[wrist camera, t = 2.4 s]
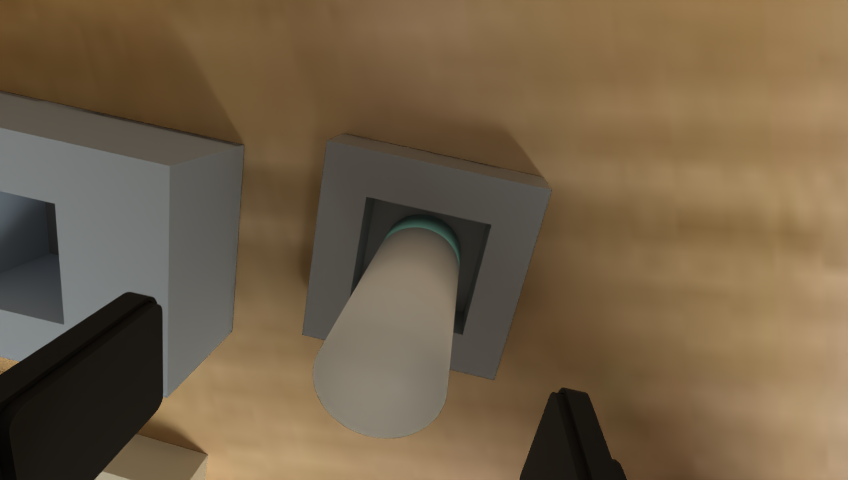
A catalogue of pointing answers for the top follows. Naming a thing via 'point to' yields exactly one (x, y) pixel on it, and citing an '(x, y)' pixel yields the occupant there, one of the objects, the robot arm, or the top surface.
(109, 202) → the port block
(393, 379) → the plug
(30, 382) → the robot arm
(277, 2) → the top surface
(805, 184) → the top surface
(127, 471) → the electrical outlet
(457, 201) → the grey square socket base
